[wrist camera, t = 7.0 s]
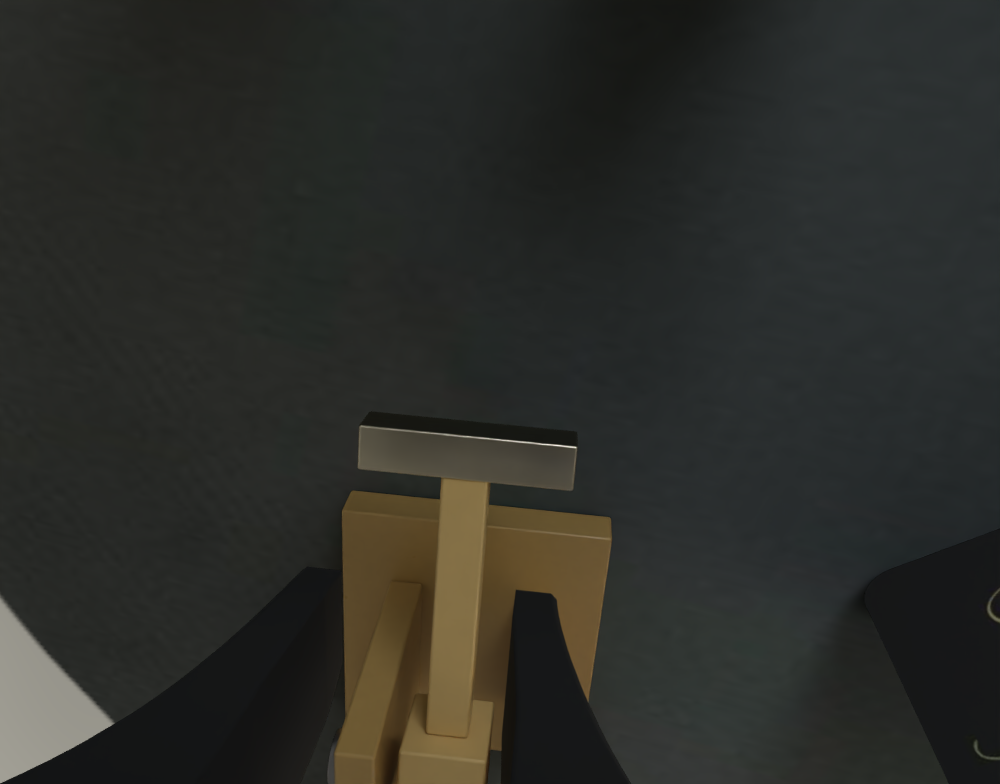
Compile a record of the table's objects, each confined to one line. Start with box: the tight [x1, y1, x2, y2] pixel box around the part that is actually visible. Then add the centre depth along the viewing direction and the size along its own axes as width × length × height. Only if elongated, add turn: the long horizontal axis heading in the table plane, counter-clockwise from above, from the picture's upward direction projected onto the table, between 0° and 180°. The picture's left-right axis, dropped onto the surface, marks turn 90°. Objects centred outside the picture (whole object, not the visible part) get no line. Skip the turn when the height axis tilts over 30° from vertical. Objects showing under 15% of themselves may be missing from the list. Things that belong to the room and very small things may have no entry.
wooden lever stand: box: [327, 491, 612, 784], centre depth 24 cm, size 9×8×8 cm
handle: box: [358, 411, 578, 784], centre depth 21 cm, size 11×5×2 cm, turn 175°
